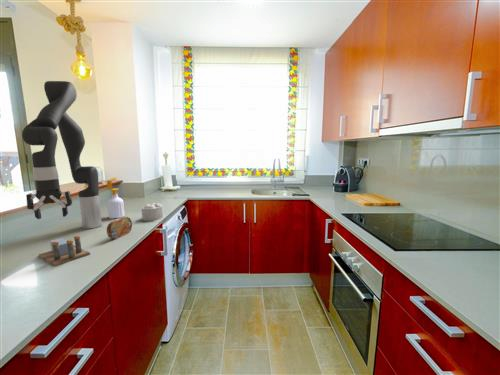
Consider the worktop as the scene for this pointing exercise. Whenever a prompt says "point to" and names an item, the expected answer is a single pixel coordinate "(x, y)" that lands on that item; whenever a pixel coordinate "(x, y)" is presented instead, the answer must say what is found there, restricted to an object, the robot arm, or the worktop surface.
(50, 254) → the board
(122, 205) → the soap bottle
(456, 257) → the worktop surface
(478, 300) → the worktop surface
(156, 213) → the lumpy-topped squat cylinder
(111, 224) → the tin
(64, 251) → the rectangular block
